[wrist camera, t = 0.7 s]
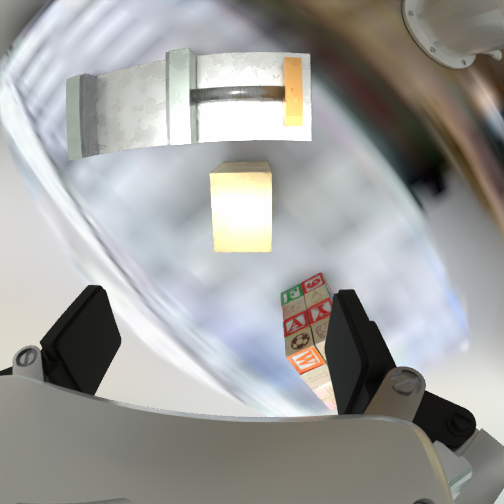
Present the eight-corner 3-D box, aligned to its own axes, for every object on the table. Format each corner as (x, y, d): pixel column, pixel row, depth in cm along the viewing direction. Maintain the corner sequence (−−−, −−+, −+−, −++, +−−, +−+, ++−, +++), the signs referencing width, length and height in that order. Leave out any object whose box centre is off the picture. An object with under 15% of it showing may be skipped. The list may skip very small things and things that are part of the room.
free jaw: (297, 52, 24) (301, 44, 21) (298, 140, 28) (302, 141, 25) (173, 58, 24) (164, 51, 21) (174, 144, 28) (166, 145, 25)
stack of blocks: (368, 363, 43) (388, 418, 32) (336, 378, 45) (350, 435, 33) (320, 270, 36) (344, 331, 25) (278, 292, 37) (285, 358, 26)
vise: (307, 57, 25) (315, 46, 21) (308, 140, 29) (316, 141, 25) (86, 82, 26) (66, 79, 22) (89, 155, 30) (69, 160, 26)
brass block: (268, 161, 30) (271, 172, 22) (268, 220, 33) (271, 252, 25) (223, 162, 31) (210, 173, 22) (225, 221, 33) (214, 252, 25)
